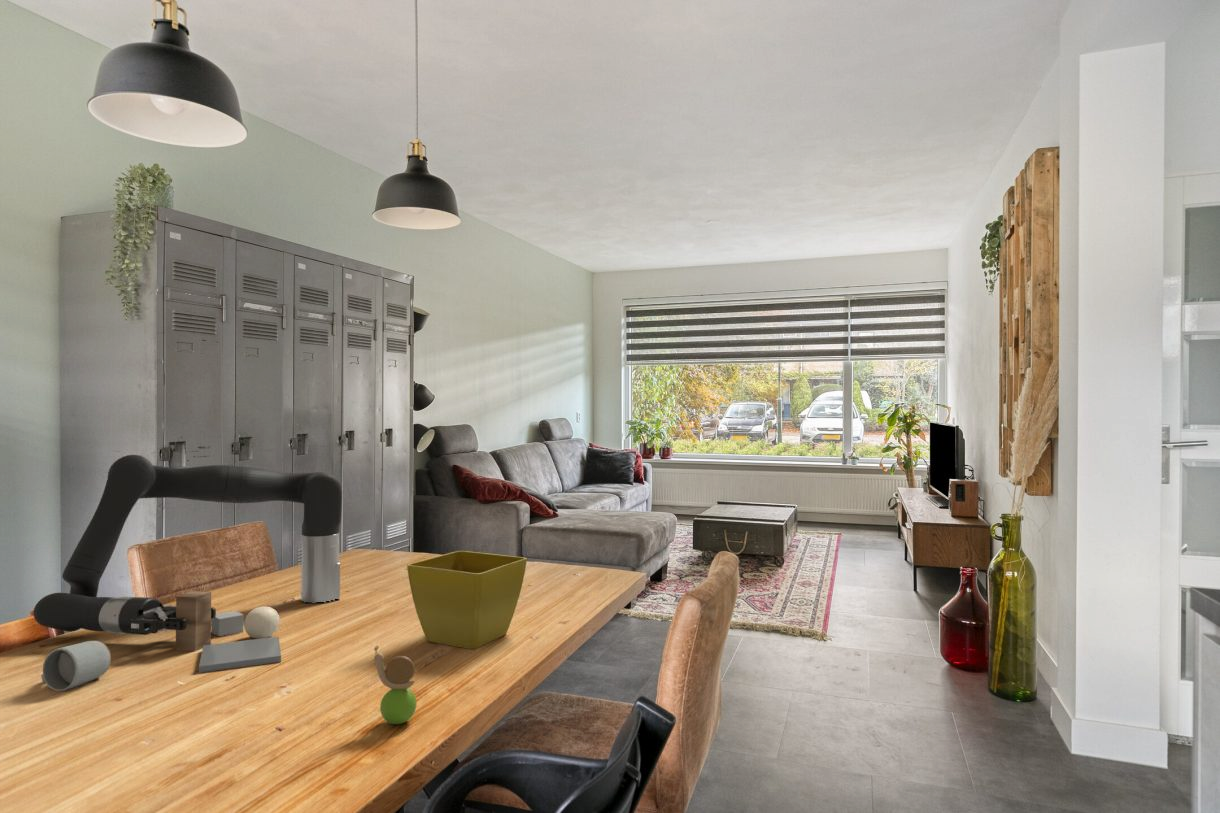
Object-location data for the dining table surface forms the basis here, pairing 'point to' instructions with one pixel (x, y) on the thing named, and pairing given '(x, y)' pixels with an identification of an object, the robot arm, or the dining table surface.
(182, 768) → the dining table surface
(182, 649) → the walnut block
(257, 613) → the steamed bun
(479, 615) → the flower pot
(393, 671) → the snail figurine
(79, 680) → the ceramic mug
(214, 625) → the grey block
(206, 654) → the plate
